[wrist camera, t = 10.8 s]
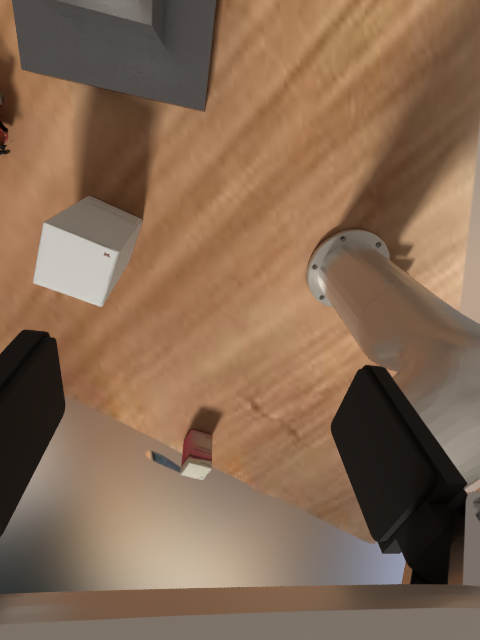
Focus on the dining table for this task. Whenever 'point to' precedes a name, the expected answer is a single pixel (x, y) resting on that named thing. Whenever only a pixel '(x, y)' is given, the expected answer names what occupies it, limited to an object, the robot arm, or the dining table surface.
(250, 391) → the dining table surface
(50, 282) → the supplement box
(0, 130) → the dragon fruit
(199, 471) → the small box
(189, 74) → the stand
